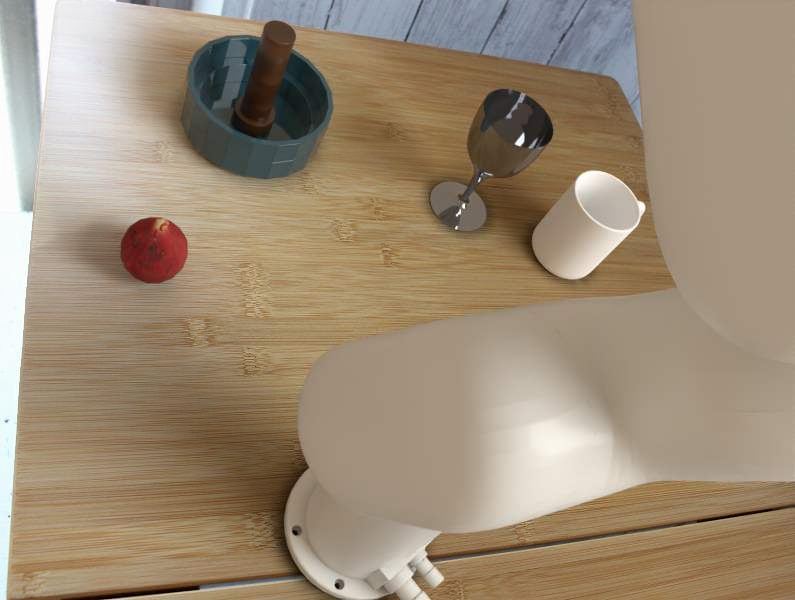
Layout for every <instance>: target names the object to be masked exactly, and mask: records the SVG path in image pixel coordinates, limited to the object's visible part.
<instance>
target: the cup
mask: <svg viewBox="0 0 795 600" xmlns="http://www.w3.org/2000/svg"><path fill="white" fill-rule="evenodd" d="M645 211H646V205H645V203H644V202H643V201H641V200H638V199H637V197H636V195H635V194H634V192H633V191H632V190H631V188H630V187H629V186H628V185H626V184H625V182H623V181H622V180H621V179H620V178H618V177H616V176H614V175H612V174H611V173H608V172H605V171H602V170H593V169H592V170H587V171H583V172H582V173H581V174H579V175H578V176H577V177H576V178H575V179H574V181H573V182H572V183H571V184H570V186H569V187H568V188H567V189H566V190H565V191H564V193H563V194H562V195H561V196H560V197H559V199H558V200H557V201H556V202H555V203H554V205H553V206H552V207H551V208H550V210H549V211H548V212H547V213H546V214H545V215H544V216H543V218H542V219H541V220H540V221H539V223H538V224H537V225H536V227H535V228H534V230H533V231H532V232H533V233H532V237H531V247H532V251H533V253H534V256H535V258H536V259H537V261H538V262H539V263H540V265H541V266H542V267H543V268H544V269H545V270H547V272H549V273H551V274H553V275H554V276H556V277H558V278H561V279H563V280H579V279H582V278H584V277H586V276H587V275H589V274H590V273H592V271H594V270H595V269H596V268H597V267H598V266H599V265H600V264H601V263H602V262H603V261H604V260H605V259H606V258H607V257H608V256H609V255H610V254H611V253H612V252H613V251H614V250H615V249H616V248H617V247H618V246H619V245H620V244H621V243H622V242H623V241H624V240H625V239H626V238H627V237H628V236H629V235H630V234H631V233H632V232H633V231H634V230H635V229H636V228H637V227H638V225H639V223H640V221H641V218H642V216H643V215H644V213H645Z"/></svg>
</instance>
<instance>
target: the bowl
mask: <svg viewBox="0 0 795 600" xmlns="http://www.w3.org/2000/svg"><path fill="white" fill-rule="evenodd" d="M260 38H261V36H258V35H251V34H234V35H233V34H232V35H231V34H230V35H225V36H222V37H219V38H215V39H212V40H210V41H207V42H206V43H205V44H204V45H203V46H202V47H200V48H198V50H196V51H195V52H194V54H193V56H192V58H191V60H190V62H189V64H188V66H187V71H186V75H185V79H184V84H183V89H182V93H181V99H180V103H179V107H180V109H179V112H180V113H179V120H180V123H181V125H182V128H183V130H184V133H185V135H186V138H187V139H188V140H189V142H190V143H191V144H192V145H193V147H194V148H195V149H196V150H197V151H198V152H199V154H200V155H202V157H204V158H206V159H207V160H209V161H210V162H211V163H213V164H215V165H216V166H217V167H219V168H221V169H223V170H225V171H228V172H230V173H234V174H235V175H239V176H241V177H245V178H246V177H247V178H253V179H260V180H271V179H280V178H286V177H289V176H291V175H293V174H295V173H297V172H300V171H302V170H304V169H305V168H306V167H307V165H309V164H310V163H311V162H312V160H314V158H315V157H316V155H317V153H318V150H319V148H320V146H321V144H322V141H323V138H324V136H325V134H326V132H327V130H328V127H329V125H330V123H331V119H332V116H333V113H334V99H333V92H332V90H331V87H330V85H329V84H328V82H327V80H326V78H325V76H324V74H323V73H322V72H321V71H320V70H319V69H318V68H317V66H315V64H314V63H313V62H312V61H311V60H310V59H308V58H307V57H306V56H304V55H303V54H301V53H300V52H298V51H297V50H295V49H294V48H292V51H291V54H290V57H289V60H288V63H287V66H286V69H285V72H284V75H283V78H282V81H281V84H280V87H279V90H278V93H277V96H276V99H275V101H274V104H273V108H274V110H275V119H274V122H273V125H272V128H271V130H270V132H269V133H268V134H267V135H266V136H264V137H261V138H253V137H251V136H248V135H245V134H243V133H240V132H238V131H237V130H236V129H235V128H234V126H233V124H232V121H231V117H232V113H233V110H234V106H235V103H236V101H237V100H238V99H239V98H240V97H242V96H244V93H245V89H246V86H247V82H248V79H249V76H250V72H251V69H252V66H253V62H254V59H255V55H256V52H257V49H258V45H259V42H260Z"/></svg>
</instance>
